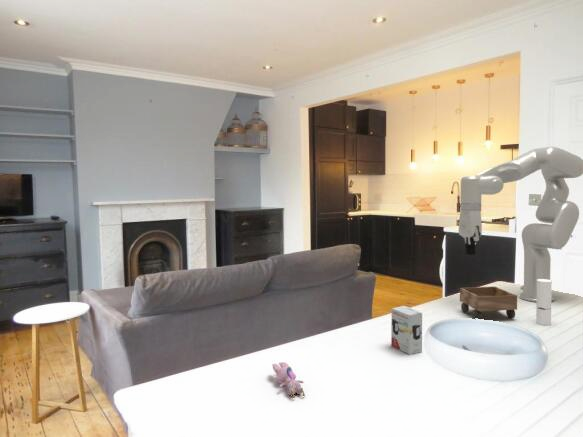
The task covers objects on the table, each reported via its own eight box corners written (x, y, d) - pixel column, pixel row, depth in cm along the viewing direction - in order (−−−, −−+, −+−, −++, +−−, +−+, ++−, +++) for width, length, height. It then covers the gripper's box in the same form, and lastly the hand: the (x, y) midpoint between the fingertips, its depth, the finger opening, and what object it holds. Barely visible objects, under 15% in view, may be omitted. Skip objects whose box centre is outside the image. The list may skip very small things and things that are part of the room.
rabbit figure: (310, 401, 98) (287, 367, 111) (312, 378, 96) (288, 346, 110) (285, 407, 95) (265, 371, 109) (286, 384, 94) (265, 350, 108)
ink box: (390, 345, 128) (390, 307, 127) (403, 342, 130) (403, 305, 129) (409, 355, 120) (409, 314, 119) (422, 352, 122) (422, 312, 121)
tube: (546, 321, 146) (547, 279, 145) (553, 325, 142) (554, 281, 141) (534, 321, 147) (534, 279, 146) (540, 325, 143) (540, 281, 142)
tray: (459, 310, 161) (459, 288, 160) (494, 308, 162) (495, 286, 161) (478, 321, 147) (478, 297, 146) (516, 319, 148) (517, 295, 147)
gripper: (452, 207, 171) (452, 251, 173) (471, 208, 157) (470, 257, 158) (470, 207, 172) (470, 251, 173) (490, 208, 157) (489, 257, 158)
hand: (470, 254), depth 166 cm, fingers closed
